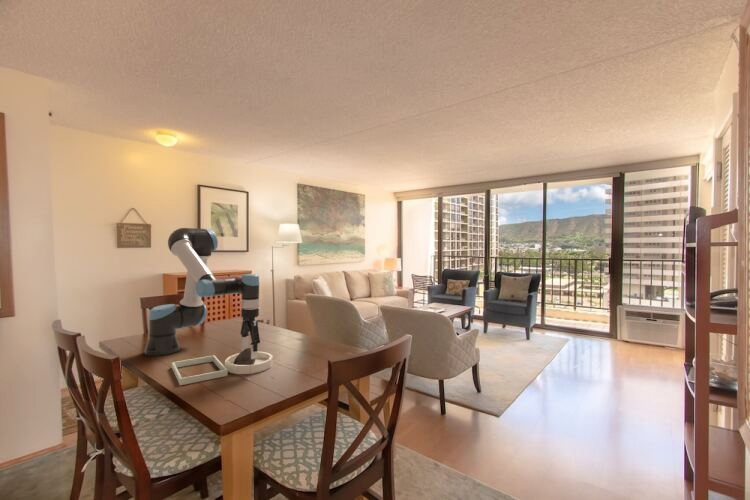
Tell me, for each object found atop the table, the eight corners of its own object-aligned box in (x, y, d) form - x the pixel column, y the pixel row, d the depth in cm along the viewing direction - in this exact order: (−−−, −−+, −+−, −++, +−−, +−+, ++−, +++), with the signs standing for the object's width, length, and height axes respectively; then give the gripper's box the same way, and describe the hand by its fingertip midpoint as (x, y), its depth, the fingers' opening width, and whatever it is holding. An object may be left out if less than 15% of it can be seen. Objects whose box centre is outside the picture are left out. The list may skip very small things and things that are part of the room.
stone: (239, 377, 150) (256, 361, 151) (227, 362, 151) (244, 346, 152) (248, 372, 160) (264, 357, 161) (236, 358, 161) (252, 344, 162)
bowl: (220, 363, 159) (220, 356, 158) (263, 356, 171) (263, 349, 171) (232, 377, 143) (232, 369, 143) (278, 367, 155) (278, 360, 155)
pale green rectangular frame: (171, 367, 153) (171, 362, 152) (214, 360, 163) (214, 355, 163) (179, 385, 134) (180, 378, 134) (227, 375, 144) (227, 369, 144)
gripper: (234, 304, 164) (233, 349, 164) (250, 313, 144) (249, 363, 144) (249, 303, 169) (249, 346, 169) (268, 311, 149) (267, 360, 149)
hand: (249, 354), depth 157 cm, fingers open, 13 cm apart
